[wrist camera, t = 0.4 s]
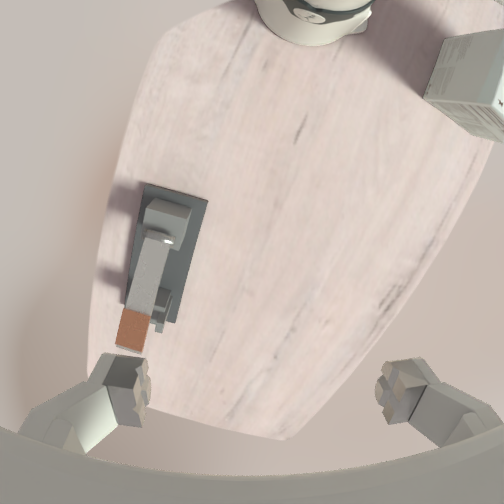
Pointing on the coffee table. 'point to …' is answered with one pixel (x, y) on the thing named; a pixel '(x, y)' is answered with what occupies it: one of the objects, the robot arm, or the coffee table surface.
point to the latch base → (174, 256)
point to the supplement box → (471, 83)
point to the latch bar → (143, 291)
